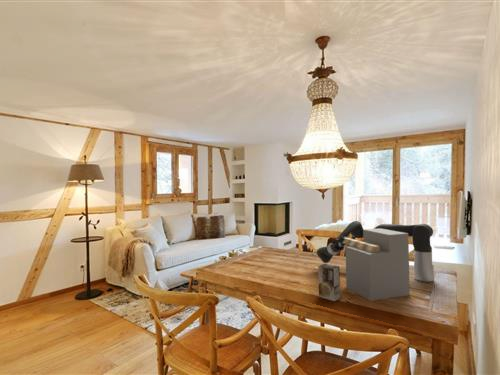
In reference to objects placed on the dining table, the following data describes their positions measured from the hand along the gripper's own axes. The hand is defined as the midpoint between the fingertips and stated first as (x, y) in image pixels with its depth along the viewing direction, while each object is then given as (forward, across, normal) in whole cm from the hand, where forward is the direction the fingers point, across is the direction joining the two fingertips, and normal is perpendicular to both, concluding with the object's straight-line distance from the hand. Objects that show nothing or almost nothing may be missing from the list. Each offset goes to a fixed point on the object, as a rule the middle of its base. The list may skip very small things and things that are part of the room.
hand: (348, 238), depth 164 cm
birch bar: (+6, 0, -8) cm, 10 cm away
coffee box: (-1, +23, -31) cm, 38 cm away
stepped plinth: (0, -6, -31) cm, 31 cm away
